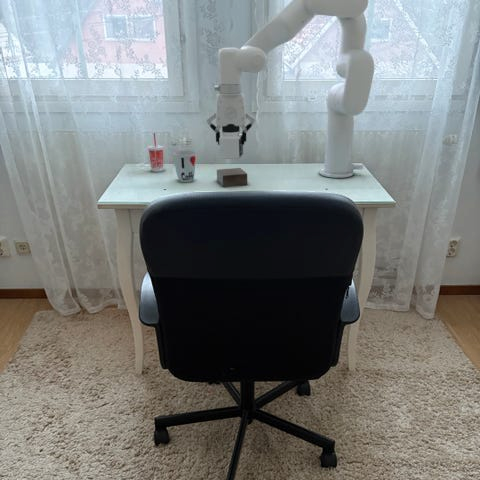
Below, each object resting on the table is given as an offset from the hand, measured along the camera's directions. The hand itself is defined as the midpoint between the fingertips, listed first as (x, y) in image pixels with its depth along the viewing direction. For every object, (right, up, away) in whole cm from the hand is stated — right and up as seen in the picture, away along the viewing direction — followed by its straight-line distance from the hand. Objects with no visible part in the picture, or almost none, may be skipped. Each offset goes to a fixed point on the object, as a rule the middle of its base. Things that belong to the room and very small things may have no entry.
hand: (231, 143), depth 181 cm
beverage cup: (-30, -2, +23) cm, 37 cm away
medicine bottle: (0, -4, +2) cm, 5 cm away
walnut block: (0, -12, +7) cm, 14 cm away
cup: (-17, -10, +10) cm, 22 cm away
